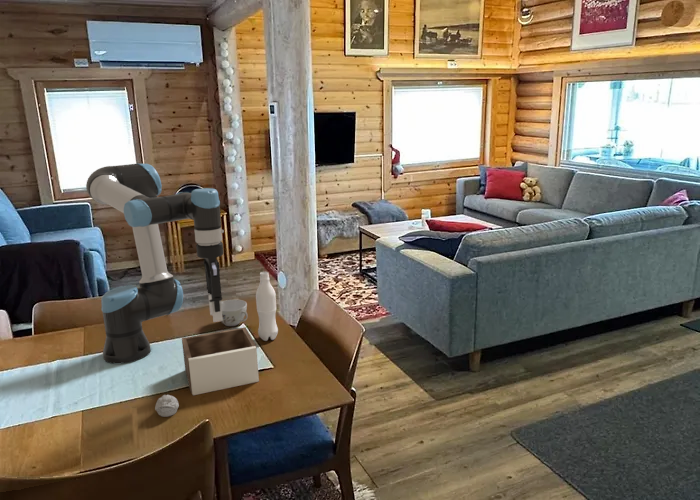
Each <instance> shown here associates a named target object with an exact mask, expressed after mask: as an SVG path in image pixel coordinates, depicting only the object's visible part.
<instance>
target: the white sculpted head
mask: <svg viewBox="0 0 700 500" xmlns="http://www.w3.org/2000/svg"><path fill="white" fill-rule="evenodd" d="M179 406H180V405H179V401H178V398H176V397H175V396H174V395H170V394H163V395H162V396H161V397H158V399H157V401H156V403H155V407H154V410H155V411H156V412H157V414H158V415H159V416H160V417H163V418H164V417H165V418H166V417H172V416H174V415H175V414H176V413H177V412H178V408H179Z"/></svg>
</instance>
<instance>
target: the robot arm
mask: <svg viewBox="0 0 700 500" xmlns="http://www.w3.org/2000/svg"><path fill="white" fill-rule="evenodd" d="M162 187H163V186H162V180H161V177H160V175H159V172H158V171H157V170H156V168H155V167H154V166H153V165H151V164H149V163H131V164H121V165H107V166H102V167H100V168H97V169H96V170H95V171H93V172H91V174H90V175H89V176H88V178H87V180H86V184H85V189H86V192H87V195H88V196H89V197H90V198H91V199H92V201H95V202H96V203H98V204H102V205H108V206H110V207H112V208H114V209H115V210H117V211H119V212H121V213H122V214H123V215H124V220H125V221H126V223H127V225H128V226H129V227H131V228H132V232H133V238H134V242H135V243H134V244H135V247H136V251H137V257H138V261H139V266H140V272H141V278H140V280H139V281H138V284H139V287H137V286H136V285H133V284H128V285H120V286H117V287H114V288H112V289H110V290H108V291H106V292H105V293H104V294H103V295H102V296H101V301H100V302H101V312H102V317H103V323H104V331H105V339H104V346H103V350H102V355H103V357H102V358H103V360H104V361H105V362H107V363H110V364H114V363H121V364H127V363H133V362H136V361H139V360H141V359H143V358H145V357H147V356H148V355H149V354H150V353H151V349H152V348H151V344H150V342H149V339H148V337H147V335H146V334H145V332H144V329H143V322H145V321H149V320H153V319H155V318H160V317H163V316H169V315H172V314H174V313H176V312H178V311H180V309H181V308H182V306H183V302H184V290H183V286H182V285H181V282H180V281H179V280H178V279H176V278H174V275H173V274H171V272H169V271H168V268H167V262H166V258H165V257H166V256H165V252H164V247H163V242H162V237H161V233H160V232H161V231H160V227H159V224H164V223H171V222H176V221H182V220H183V221H184V220H193V226H194V230H193V231H194V241H195V243H196V256H197V257H198V258H200V259H203V267H204V272H205V280H206V281H205V283H206V290H207V296H208V306H209V307H208V308H209V314H210V315H209V316H212V321H213V323H216V322H217V323H218V322H221V321H223V317H222V306H221V301H223V297H222V286H221V275H220V274H221V273H220V271H221V269H220V262H219V261H218V259H217V258H218V257H219V258H220V257H222V256H223V255H224V253H225V252H224V243H223V242H222V241H223V234H224V232H225V231H224V229H222V219H221V216H222V215H221V201H220V198H219V192H218V190H217V189H215V188H212V187H211V188H209V187H206V188H203V187H202V188H196V189H193V190H191V192H189V191H180V192H176V193H175V194H171V195H164V196H159V195H161V193H162Z"/></svg>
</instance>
